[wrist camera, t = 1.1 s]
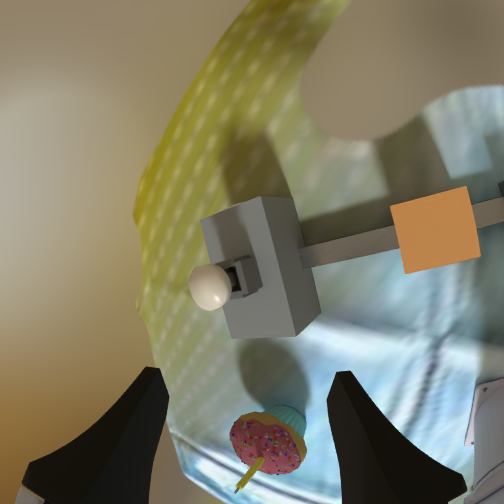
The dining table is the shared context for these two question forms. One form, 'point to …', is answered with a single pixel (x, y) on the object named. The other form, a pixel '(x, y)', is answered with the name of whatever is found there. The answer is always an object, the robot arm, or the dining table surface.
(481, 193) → the dining table surface
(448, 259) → the carriage
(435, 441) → the dining table surface
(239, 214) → the button box
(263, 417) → the cupcake
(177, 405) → the dining table surface
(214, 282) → the plunger
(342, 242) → the rail
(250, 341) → the dining table surface
